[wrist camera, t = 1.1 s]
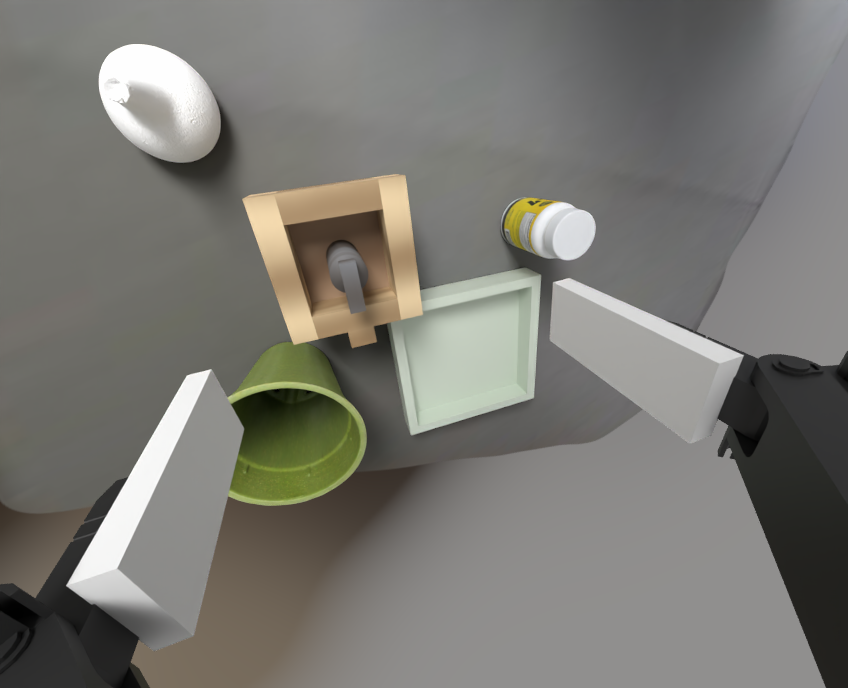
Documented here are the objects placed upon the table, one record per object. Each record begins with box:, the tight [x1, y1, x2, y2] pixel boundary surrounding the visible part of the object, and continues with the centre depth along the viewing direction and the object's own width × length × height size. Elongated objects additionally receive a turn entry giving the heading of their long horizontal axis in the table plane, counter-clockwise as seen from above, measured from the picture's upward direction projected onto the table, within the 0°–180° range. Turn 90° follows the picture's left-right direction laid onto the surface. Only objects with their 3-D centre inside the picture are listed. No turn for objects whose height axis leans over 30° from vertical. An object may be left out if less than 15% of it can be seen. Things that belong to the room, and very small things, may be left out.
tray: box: [387, 267, 541, 435], centre depth 38 cm, size 16×16×3 cm
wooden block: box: [288, 210, 390, 314], centre depth 25 cm, size 8×8×11 cm
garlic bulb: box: [99, 44, 221, 163], centre depth 20 cm, size 6×6×8 cm
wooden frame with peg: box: [242, 174, 423, 348], centre depth 25 cm, size 11×10×3 cm
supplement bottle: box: [501, 197, 596, 261], centre depth 31 cm, size 5×5×8 cm
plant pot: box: [227, 342, 367, 505], centre depth 30 cm, size 12×12×11 cm
